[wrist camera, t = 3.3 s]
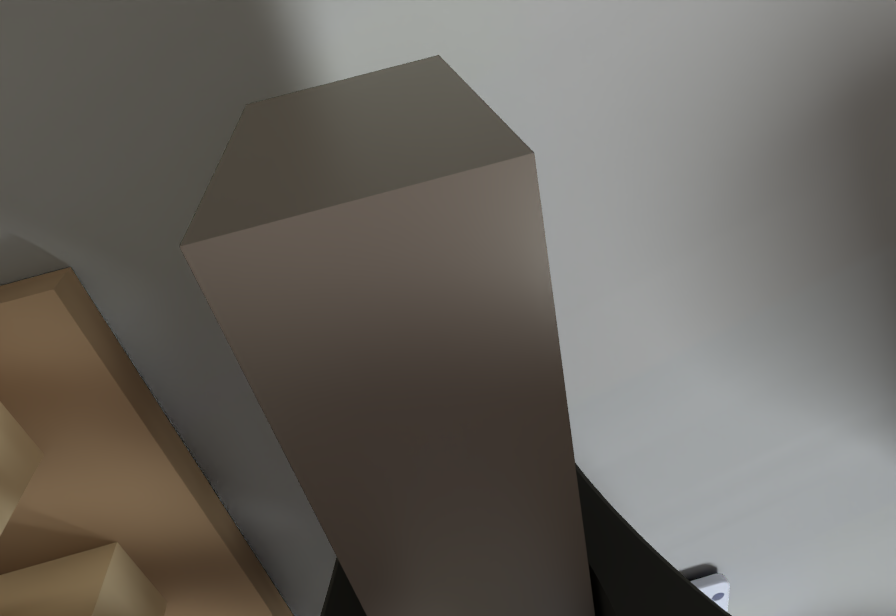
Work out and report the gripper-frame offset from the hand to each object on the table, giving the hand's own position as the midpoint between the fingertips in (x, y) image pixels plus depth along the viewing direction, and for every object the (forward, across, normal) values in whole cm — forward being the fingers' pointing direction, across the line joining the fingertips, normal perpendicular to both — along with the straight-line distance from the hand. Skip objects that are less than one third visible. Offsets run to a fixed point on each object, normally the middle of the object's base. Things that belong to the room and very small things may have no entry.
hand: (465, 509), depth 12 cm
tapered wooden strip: (+2, 0, 0) cm, 2 cm away
